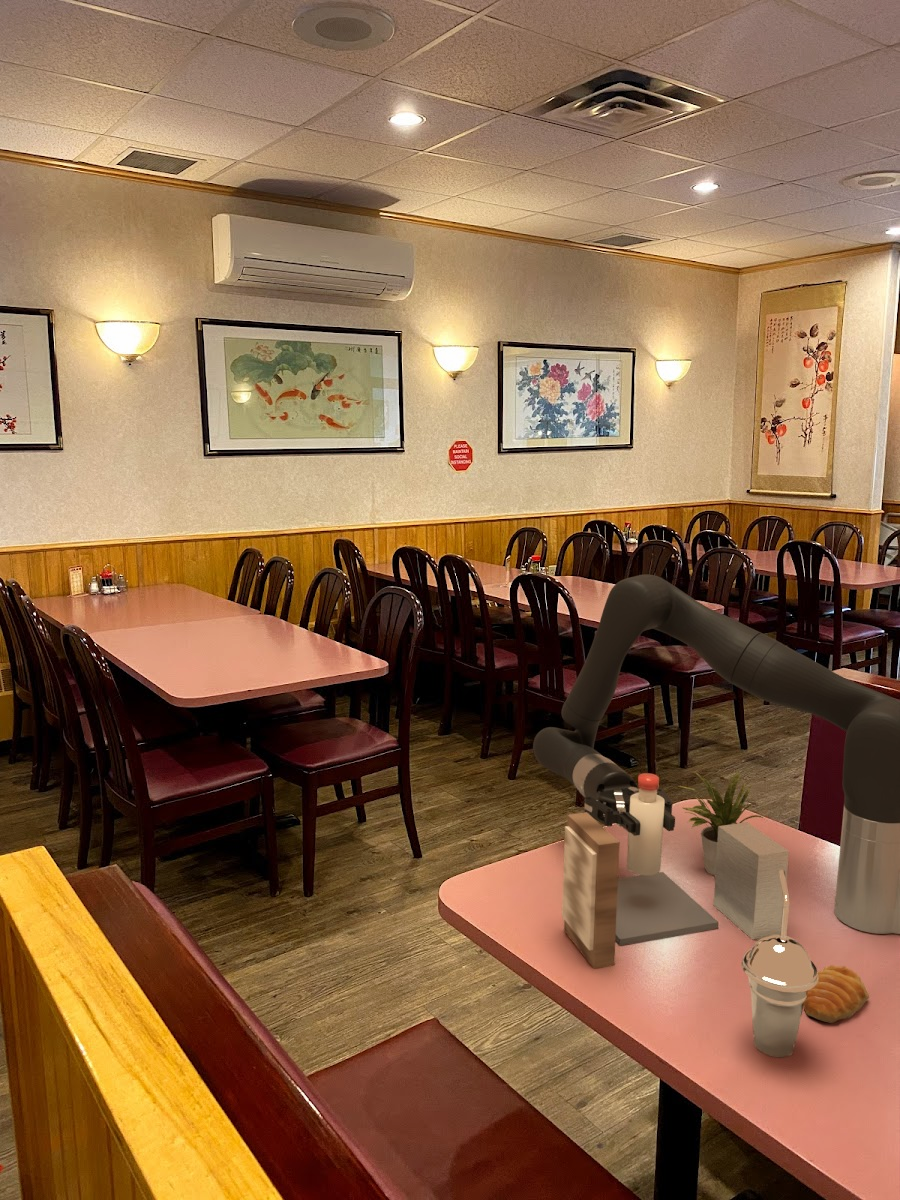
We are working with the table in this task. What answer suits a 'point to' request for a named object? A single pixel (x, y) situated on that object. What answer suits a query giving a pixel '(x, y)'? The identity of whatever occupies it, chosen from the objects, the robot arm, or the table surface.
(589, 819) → the stand
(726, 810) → the house plant
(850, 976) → the pastry
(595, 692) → the robot arm
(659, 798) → the sauce bottle
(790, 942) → the cup with straw
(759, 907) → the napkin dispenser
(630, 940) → the slate tray
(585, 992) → the table surface
